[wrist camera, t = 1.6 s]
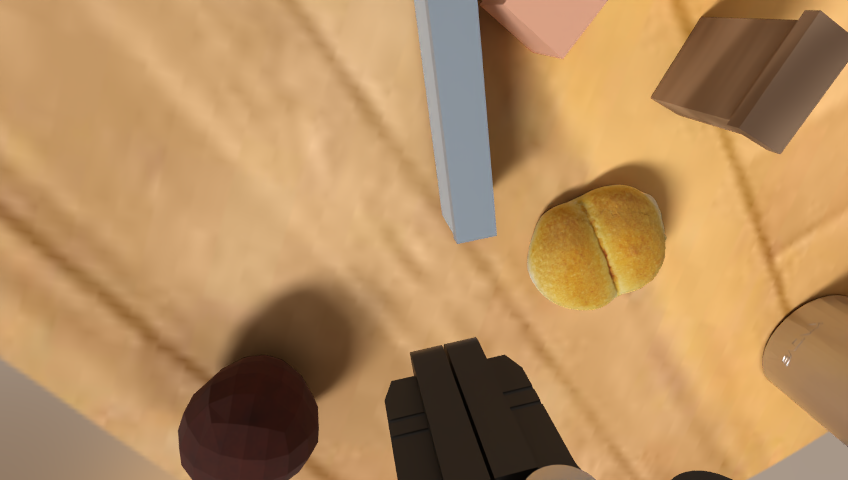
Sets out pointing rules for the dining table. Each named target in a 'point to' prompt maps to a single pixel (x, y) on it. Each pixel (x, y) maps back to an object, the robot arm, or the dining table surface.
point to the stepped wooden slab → (755, 74)
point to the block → (545, 22)
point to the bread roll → (597, 247)
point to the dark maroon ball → (249, 423)
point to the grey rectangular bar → (458, 114)
